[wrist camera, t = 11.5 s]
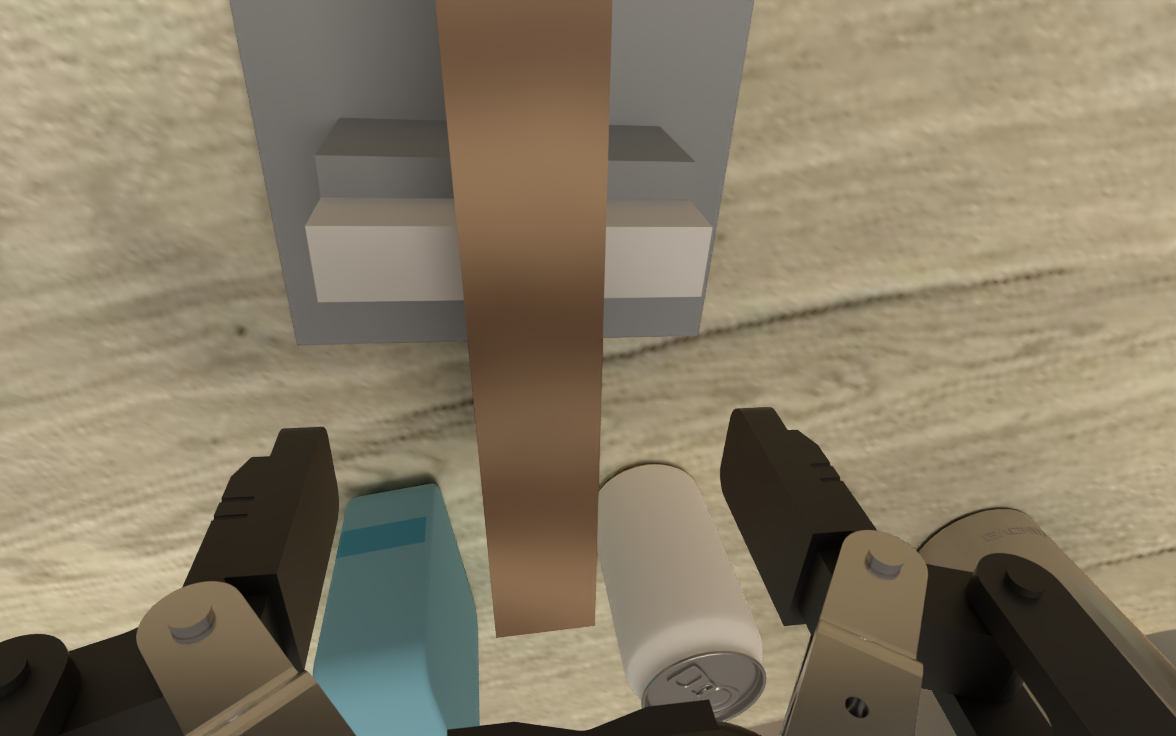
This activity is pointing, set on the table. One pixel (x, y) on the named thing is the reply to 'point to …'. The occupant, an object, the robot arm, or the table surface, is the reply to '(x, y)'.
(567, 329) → the walnut bar
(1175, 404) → the table surface
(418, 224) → the stand
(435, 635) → the data package
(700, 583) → the can
